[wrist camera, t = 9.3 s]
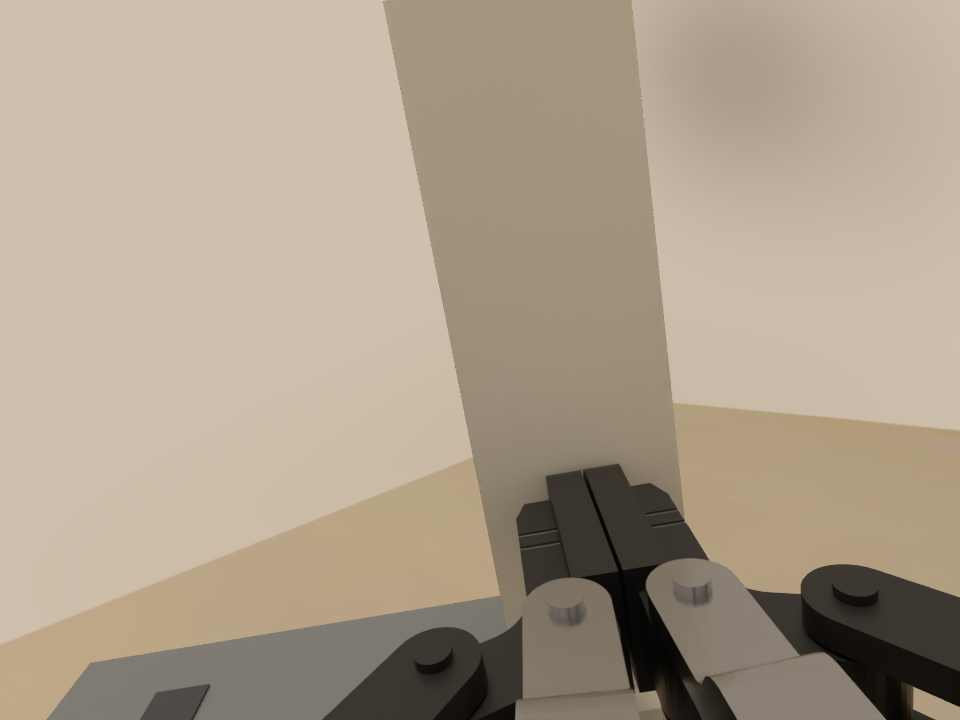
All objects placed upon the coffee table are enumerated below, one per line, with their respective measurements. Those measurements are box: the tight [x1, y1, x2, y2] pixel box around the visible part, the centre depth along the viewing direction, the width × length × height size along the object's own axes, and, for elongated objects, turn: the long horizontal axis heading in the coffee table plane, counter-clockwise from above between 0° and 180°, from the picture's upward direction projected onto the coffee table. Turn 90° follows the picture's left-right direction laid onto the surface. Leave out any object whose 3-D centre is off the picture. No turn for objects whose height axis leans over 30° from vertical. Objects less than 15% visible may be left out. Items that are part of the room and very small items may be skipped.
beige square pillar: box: [383, 0, 685, 720], centre depth 14 cm, size 4×4×15 cm
